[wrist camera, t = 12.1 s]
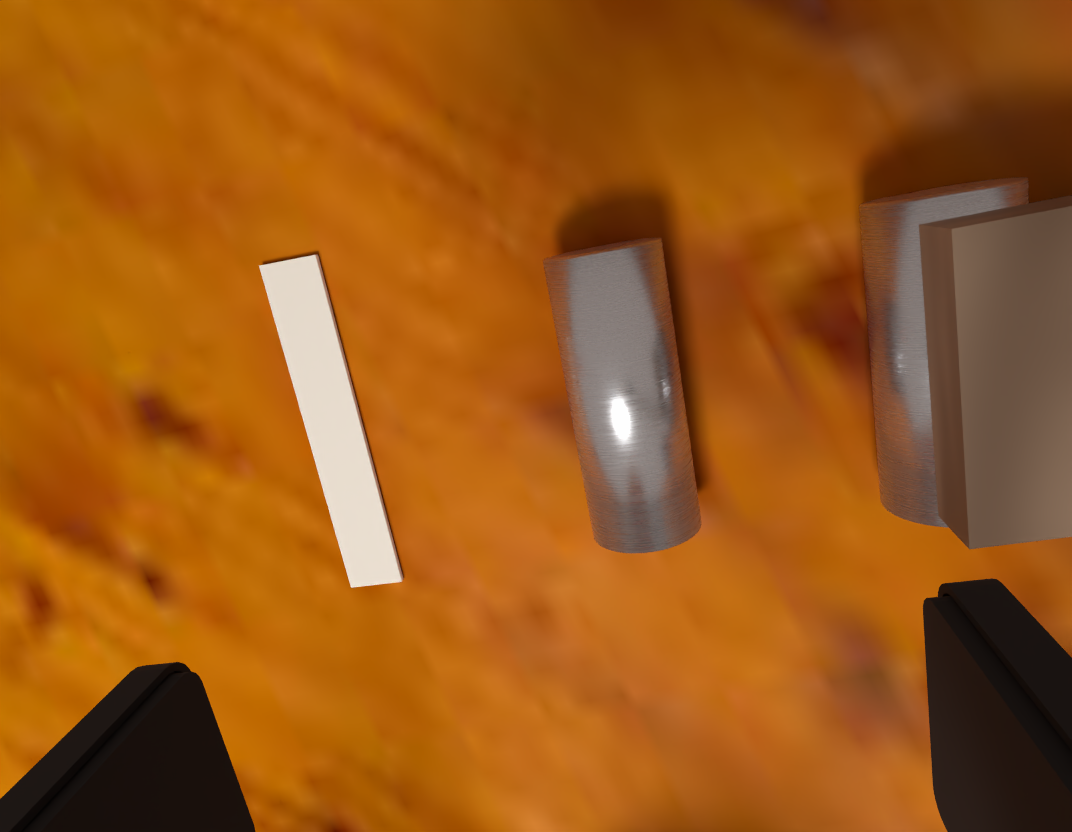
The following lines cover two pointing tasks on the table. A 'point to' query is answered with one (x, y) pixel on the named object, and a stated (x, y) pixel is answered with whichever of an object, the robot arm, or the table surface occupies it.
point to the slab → (1001, 370)
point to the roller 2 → (910, 332)
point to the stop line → (332, 418)
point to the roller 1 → (625, 393)
